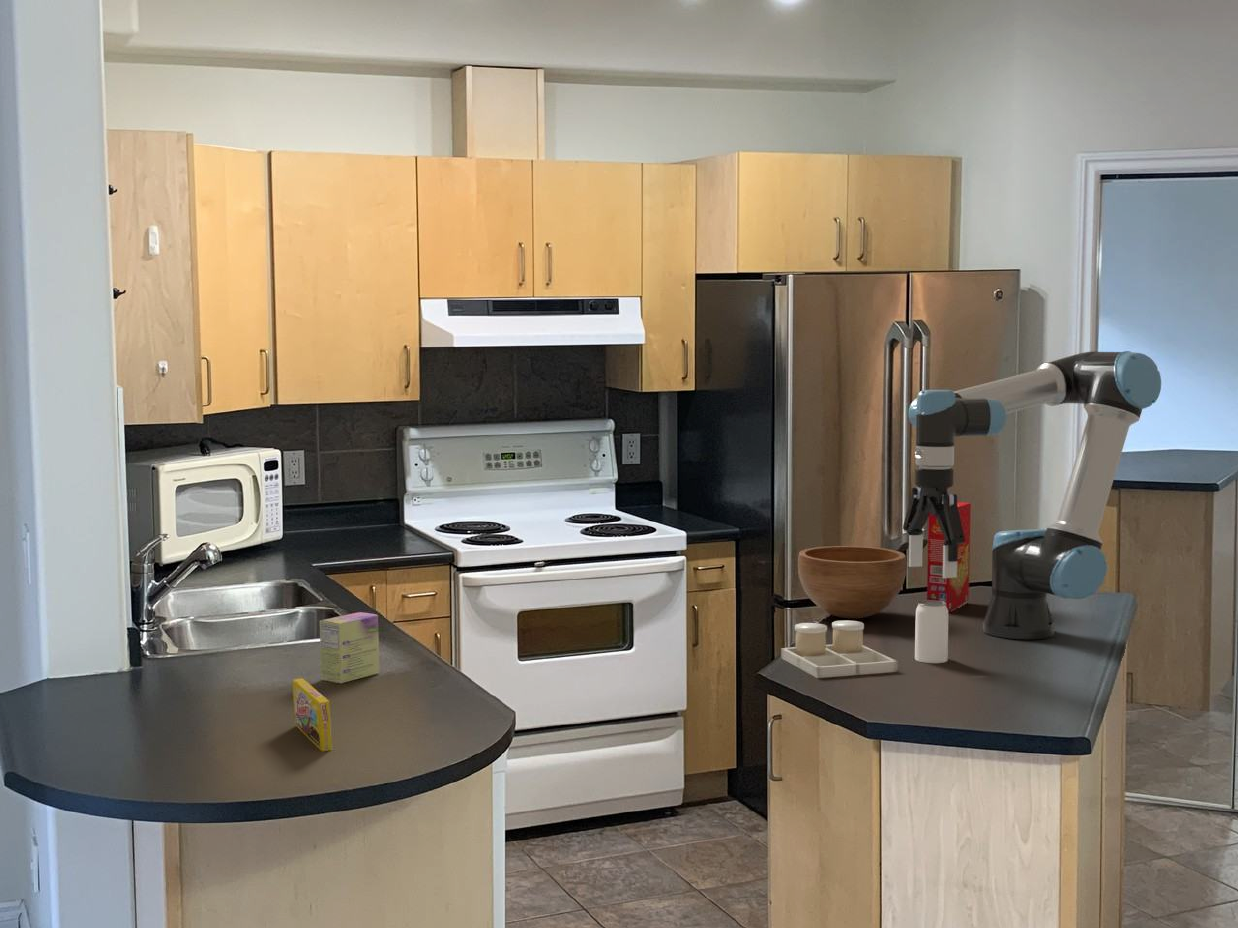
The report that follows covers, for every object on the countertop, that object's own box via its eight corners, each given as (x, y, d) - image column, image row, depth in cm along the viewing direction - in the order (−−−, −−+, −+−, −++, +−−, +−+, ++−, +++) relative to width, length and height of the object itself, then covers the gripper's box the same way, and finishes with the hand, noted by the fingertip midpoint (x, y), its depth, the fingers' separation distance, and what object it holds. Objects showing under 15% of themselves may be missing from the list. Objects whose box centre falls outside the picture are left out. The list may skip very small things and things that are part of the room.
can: (948, 665, 271) (949, 606, 270) (914, 664, 273) (916, 605, 271) (946, 658, 278) (948, 600, 277) (914, 656, 279) (915, 599, 278)
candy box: (293, 726, 230) (291, 679, 229) (305, 725, 231) (304, 677, 230) (319, 752, 216) (318, 701, 215) (333, 750, 217) (331, 699, 216)
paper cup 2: (854, 653, 280) (855, 619, 279) (868, 660, 274) (869, 625, 273) (826, 656, 278) (826, 621, 277) (840, 663, 272) (840, 627, 271)
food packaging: (947, 613, 322) (950, 509, 320) (926, 611, 325) (928, 507, 323) (968, 603, 335) (970, 503, 332) (947, 601, 338) (949, 501, 335)
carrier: (857, 653, 281) (857, 642, 281) (897, 673, 265) (897, 661, 265) (780, 659, 277) (781, 648, 276) (817, 679, 260) (817, 667, 260)
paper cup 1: (818, 656, 277) (818, 621, 277) (831, 663, 271) (832, 628, 271) (789, 658, 276) (789, 623, 275) (802, 666, 270) (803, 630, 269)
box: (359, 669, 269) (358, 610, 268) (380, 673, 266) (379, 614, 265) (319, 680, 261) (318, 619, 260) (340, 684, 257) (339, 623, 256)
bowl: (915, 628, 306) (916, 562, 304) (804, 628, 306) (804, 562, 305) (894, 607, 330) (895, 545, 329) (791, 606, 331) (792, 545, 329)
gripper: (887, 462, 282) (885, 562, 284) (950, 473, 258) (947, 583, 260) (920, 461, 284) (918, 561, 286) (984, 472, 261) (982, 581, 263)
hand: (932, 572), depth 273 cm, fingers open, 13 cm apart
